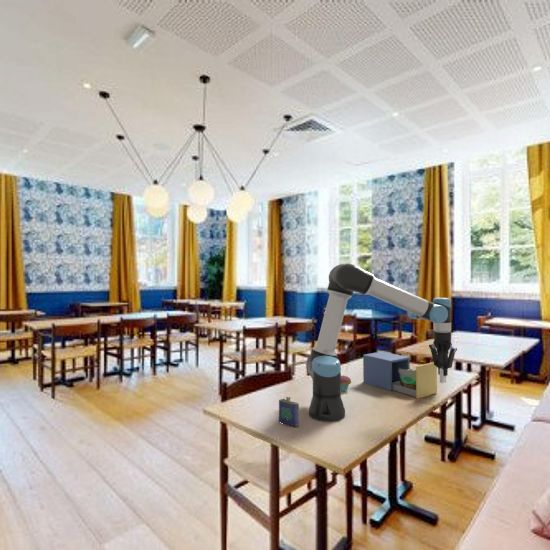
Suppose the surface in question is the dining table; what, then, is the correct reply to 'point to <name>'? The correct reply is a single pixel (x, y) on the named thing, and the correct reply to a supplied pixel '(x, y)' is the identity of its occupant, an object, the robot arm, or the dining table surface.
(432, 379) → the tan boxy piece
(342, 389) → the cupcake
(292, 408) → the flask
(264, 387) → the dining table surface
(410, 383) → the food container
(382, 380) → the open box
